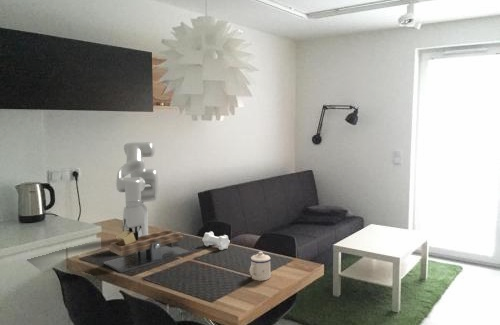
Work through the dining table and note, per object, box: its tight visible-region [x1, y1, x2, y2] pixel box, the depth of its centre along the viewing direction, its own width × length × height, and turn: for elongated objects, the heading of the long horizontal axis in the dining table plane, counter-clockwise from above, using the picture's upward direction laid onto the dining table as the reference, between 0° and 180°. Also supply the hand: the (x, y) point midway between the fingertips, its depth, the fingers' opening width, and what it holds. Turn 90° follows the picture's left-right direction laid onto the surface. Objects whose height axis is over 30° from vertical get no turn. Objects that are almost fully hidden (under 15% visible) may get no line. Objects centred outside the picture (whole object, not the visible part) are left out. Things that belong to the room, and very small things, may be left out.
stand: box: [103, 241, 191, 274], centre depth 210 cm, size 19×40×10 cm, turn 134°
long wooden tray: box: [109, 228, 184, 257], centre depth 210 cm, size 36×12×7 cm, turn 134°
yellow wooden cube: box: [115, 230, 136, 246], centre depth 201 cm, size 6×6×6 cm
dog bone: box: [201, 231, 231, 251], centre depth 228 cm, size 15×9×8 cm, turn 48°
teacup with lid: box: [249, 251, 272, 282], centre depth 181 cm, size 12×9×12 cm
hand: (135, 239), depth 205 cm, fingers closed
